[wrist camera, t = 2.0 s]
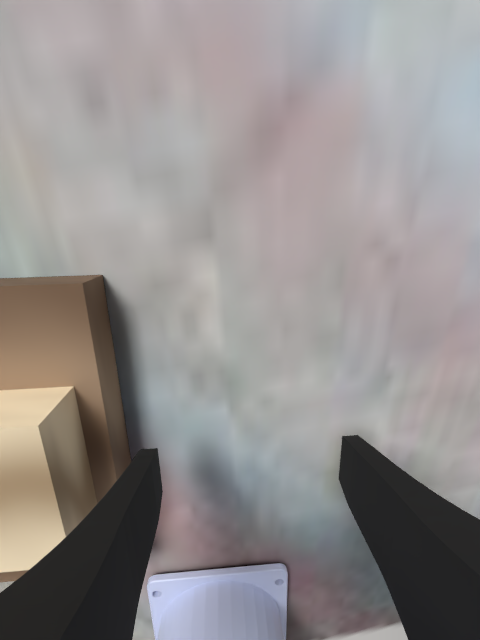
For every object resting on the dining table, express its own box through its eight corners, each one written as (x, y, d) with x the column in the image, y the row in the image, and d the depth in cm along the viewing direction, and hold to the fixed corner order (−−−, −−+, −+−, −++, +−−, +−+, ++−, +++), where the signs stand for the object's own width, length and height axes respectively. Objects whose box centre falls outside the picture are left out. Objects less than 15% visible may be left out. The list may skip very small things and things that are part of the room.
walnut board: (142, 531, 17) (132, 570, 15) (-32, 545, 16) (-64, 588, 14) (102, 274, 13) (82, 283, 11) (-130, 283, 12) (-194, 293, 10)
